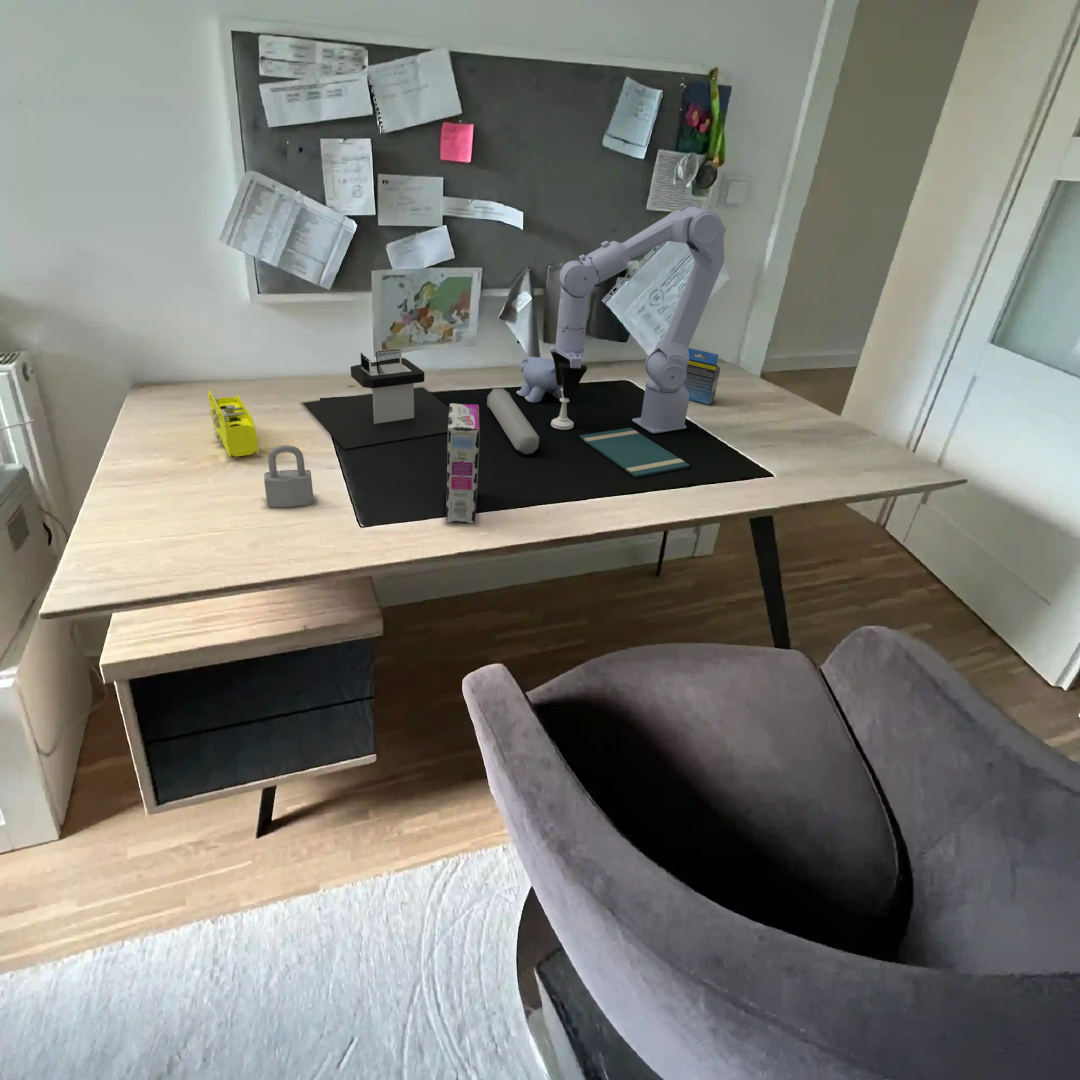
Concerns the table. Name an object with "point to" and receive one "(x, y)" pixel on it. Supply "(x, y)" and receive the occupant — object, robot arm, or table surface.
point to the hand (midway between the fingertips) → (565, 391)
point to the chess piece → (562, 416)
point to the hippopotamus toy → (539, 379)
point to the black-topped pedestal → (382, 405)
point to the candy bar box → (462, 463)
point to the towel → (634, 452)
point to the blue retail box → (702, 376)
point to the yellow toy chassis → (233, 425)
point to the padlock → (288, 481)
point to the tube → (513, 421)
